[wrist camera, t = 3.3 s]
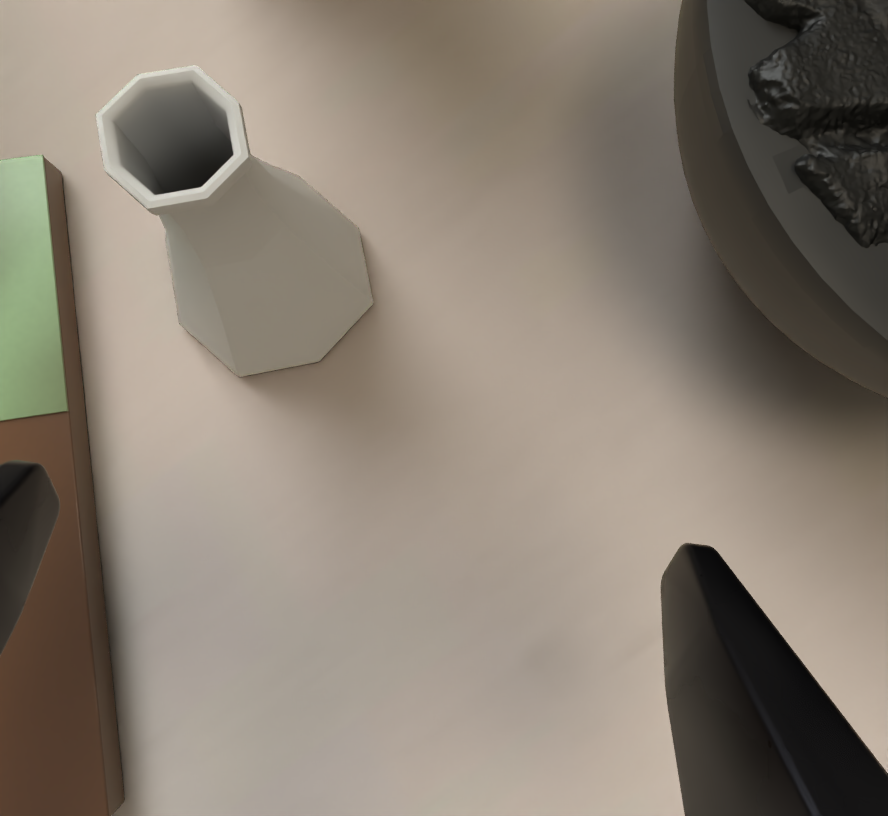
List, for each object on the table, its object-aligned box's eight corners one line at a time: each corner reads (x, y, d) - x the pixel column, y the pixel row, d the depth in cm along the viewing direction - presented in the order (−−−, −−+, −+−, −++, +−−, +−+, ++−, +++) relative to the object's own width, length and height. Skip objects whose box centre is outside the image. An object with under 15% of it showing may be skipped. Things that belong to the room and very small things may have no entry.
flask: (408, 314, 24) (402, 197, 14) (230, 412, 24) (95, 362, 14) (311, 148, 25) (241, -75, 15) (135, 240, 24) (-62, 71, 14)
